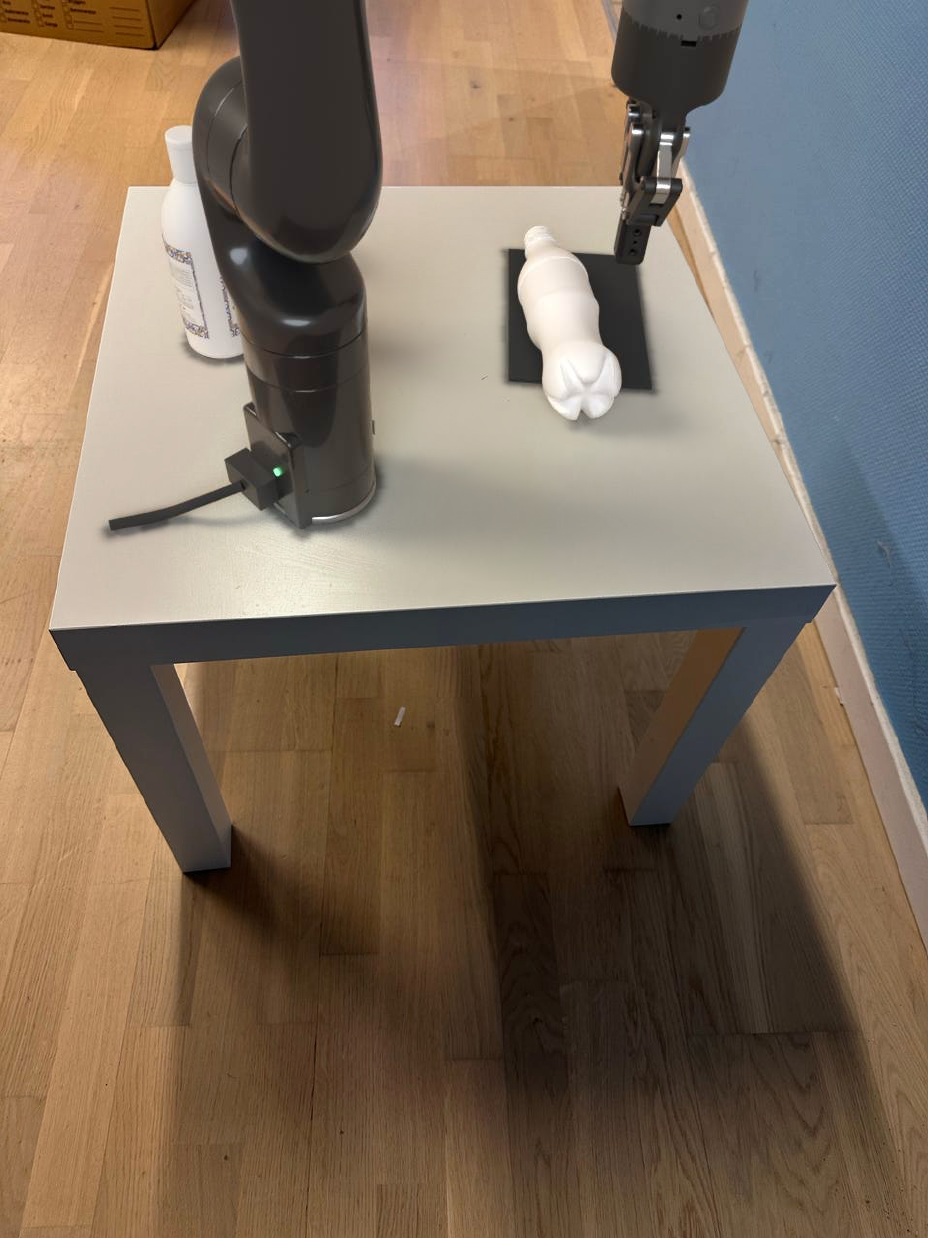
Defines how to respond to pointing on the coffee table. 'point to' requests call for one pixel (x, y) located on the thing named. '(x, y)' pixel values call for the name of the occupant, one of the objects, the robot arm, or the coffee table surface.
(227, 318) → the bath foam
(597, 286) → the mat
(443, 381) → the coffee table surface
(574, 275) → the water bottle
